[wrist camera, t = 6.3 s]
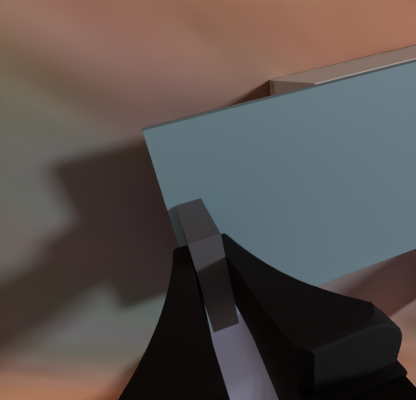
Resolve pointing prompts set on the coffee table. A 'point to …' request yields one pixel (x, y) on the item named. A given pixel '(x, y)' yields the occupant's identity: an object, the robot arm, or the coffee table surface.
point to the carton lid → (294, 180)
